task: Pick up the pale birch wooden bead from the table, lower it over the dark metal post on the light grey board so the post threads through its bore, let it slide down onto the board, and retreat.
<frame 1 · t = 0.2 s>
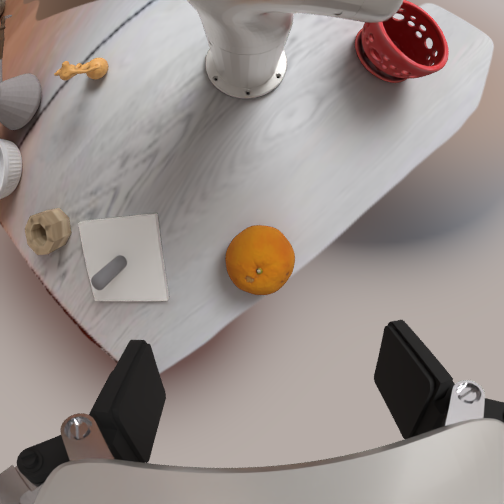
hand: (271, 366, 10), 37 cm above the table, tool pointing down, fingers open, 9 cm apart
plant pot: (382, 54, 37), on the table
figurine: (101, 76, 37), on the table
coffee pot: (33, 80, 36), on the table
post board: (123, 259, 47), on the table
ramekin: (8, 167, 41), on the table
fruit: (258, 252, 48), on the table
bead: (56, 227, 45), on the table
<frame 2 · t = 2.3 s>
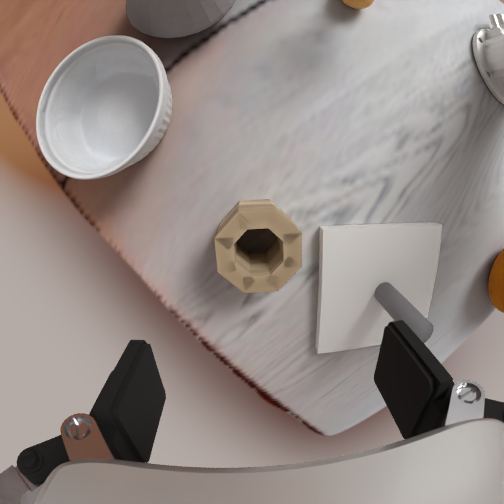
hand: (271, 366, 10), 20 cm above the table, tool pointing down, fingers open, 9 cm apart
figurine: (349, 7, 22), on the table
post board: (378, 286, 31), on the table
ramekin: (123, 113, 25), on the table
fruit: (499, 269, 32), on the table
bead: (256, 234, 29), on the table
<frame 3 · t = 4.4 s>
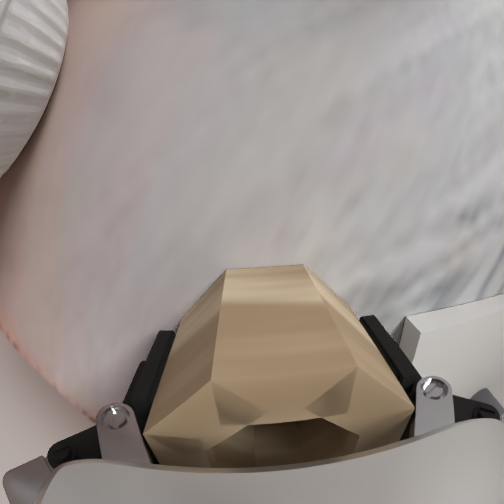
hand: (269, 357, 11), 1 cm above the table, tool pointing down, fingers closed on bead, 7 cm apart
post board: (465, 388, 14), on the table
bead: (268, 343, 12), on the table, touching gripper
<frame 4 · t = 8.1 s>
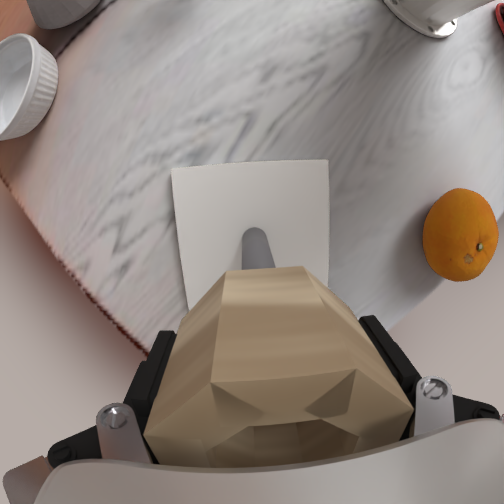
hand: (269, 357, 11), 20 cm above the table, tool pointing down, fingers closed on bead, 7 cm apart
post board: (253, 235, 30), on the table
ramekin: (30, 93, 23), on the table
fruit: (441, 227, 30), on the table
bead: (268, 344, 12), point 19 cm above the table, touching gripper
when the fingers open (8 cm above the table, at t = 11.7 s): bead drops 5 cm, resting on post board.
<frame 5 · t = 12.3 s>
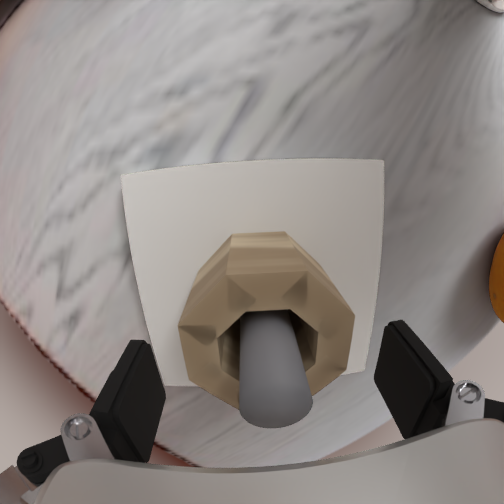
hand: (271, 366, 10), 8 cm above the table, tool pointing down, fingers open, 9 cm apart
post board: (259, 281, 18), on the table
bead: (260, 290, 17), point 1 cm above the table, touching post board
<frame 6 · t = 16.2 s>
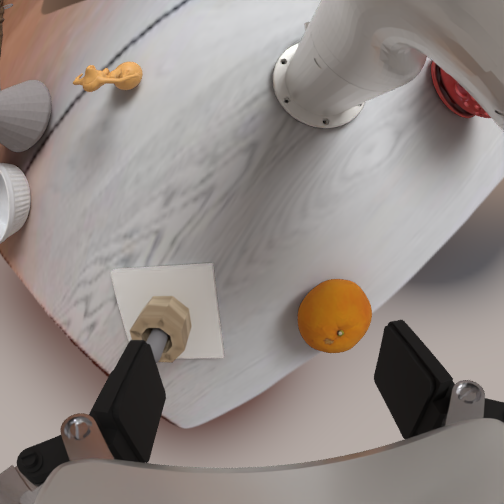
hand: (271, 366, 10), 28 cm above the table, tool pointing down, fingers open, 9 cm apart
plant pot: (452, 83, 31), on the table
figurine: (131, 86, 31), on the table
coffee pot: (40, 87, 30), on the table
post board: (169, 313, 41), on the table
ramekin: (12, 197, 35), on the table
fruit: (327, 303, 42), on the table
bead: (166, 317, 40), point 1 cm above the table, touching post board
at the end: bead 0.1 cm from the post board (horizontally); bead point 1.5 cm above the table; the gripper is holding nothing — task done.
